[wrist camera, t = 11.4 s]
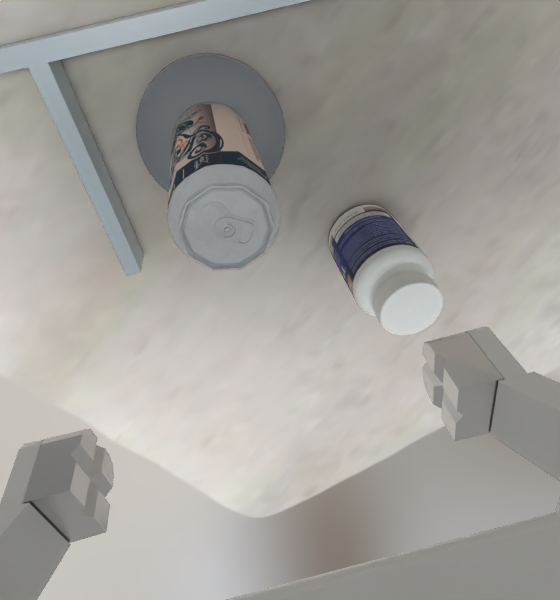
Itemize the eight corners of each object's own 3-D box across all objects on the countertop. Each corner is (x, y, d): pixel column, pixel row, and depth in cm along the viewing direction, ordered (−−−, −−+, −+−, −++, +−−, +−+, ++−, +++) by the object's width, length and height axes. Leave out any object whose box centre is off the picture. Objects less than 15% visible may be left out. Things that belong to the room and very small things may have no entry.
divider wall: (408, -50, 25) (427, -52, 23) (411, 186, 34) (425, 200, 32) (-25, 52, 25) (-43, 59, 23) (88, 267, 33) (82, 287, 31)
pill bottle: (312, 241, 35) (350, 320, 27) (363, 188, 33) (419, 256, 25) (359, 276, 38) (405, 357, 30) (408, 229, 36) (471, 301, 28)
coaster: (266, 37, 27) (269, 39, 26) (292, 182, 32) (295, 188, 31) (113, 73, 26) (111, 77, 25) (165, 214, 32) (165, 220, 31)
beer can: (183, 87, 26) (184, 156, 17) (260, 115, 28) (302, 193, 18) (163, 166, 29) (154, 265, 19) (236, 187, 30) (261, 289, 21)
